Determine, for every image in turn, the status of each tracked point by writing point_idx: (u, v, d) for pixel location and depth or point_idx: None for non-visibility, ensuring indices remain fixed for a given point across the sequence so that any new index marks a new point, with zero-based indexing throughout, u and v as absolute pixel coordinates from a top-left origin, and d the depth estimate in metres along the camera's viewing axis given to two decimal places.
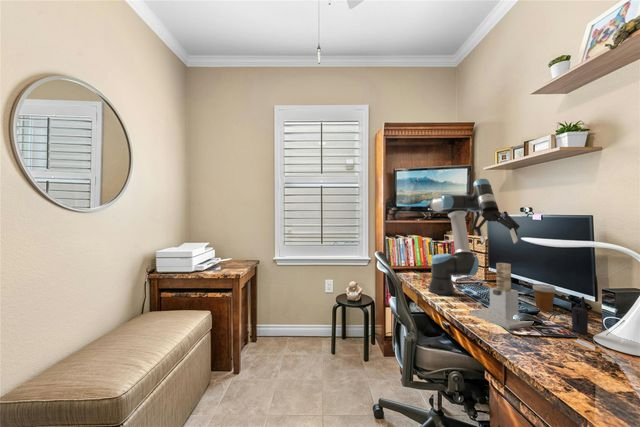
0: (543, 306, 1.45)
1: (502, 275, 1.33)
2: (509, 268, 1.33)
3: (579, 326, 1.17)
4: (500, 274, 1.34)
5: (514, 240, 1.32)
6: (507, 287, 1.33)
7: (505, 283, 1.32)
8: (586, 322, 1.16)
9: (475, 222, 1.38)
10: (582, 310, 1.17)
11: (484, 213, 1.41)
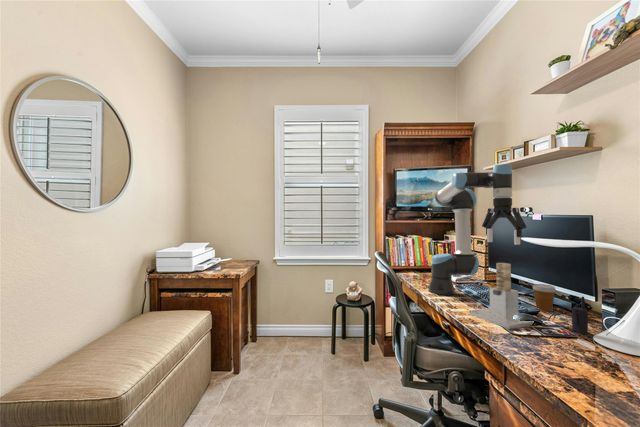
0: (543, 306, 1.45)
1: (502, 275, 1.33)
2: (509, 268, 1.33)
3: (579, 326, 1.17)
4: (500, 274, 1.34)
5: None
6: (507, 287, 1.33)
7: (505, 283, 1.32)
8: (586, 322, 1.16)
9: (484, 221, 1.43)
10: (582, 310, 1.17)
11: (494, 210, 1.38)
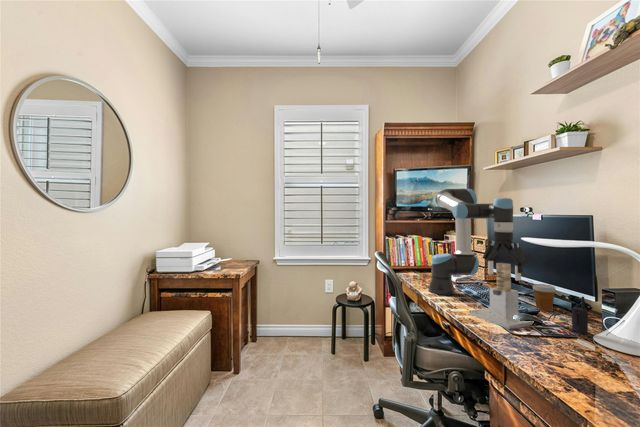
0: (543, 306, 1.45)
1: (502, 275, 1.33)
2: (509, 268, 1.33)
3: (579, 326, 1.17)
4: (500, 274, 1.34)
5: None
6: (507, 287, 1.33)
7: (505, 283, 1.32)
8: (586, 322, 1.16)
9: (485, 253, 1.42)
10: (582, 310, 1.17)
11: (495, 243, 1.37)
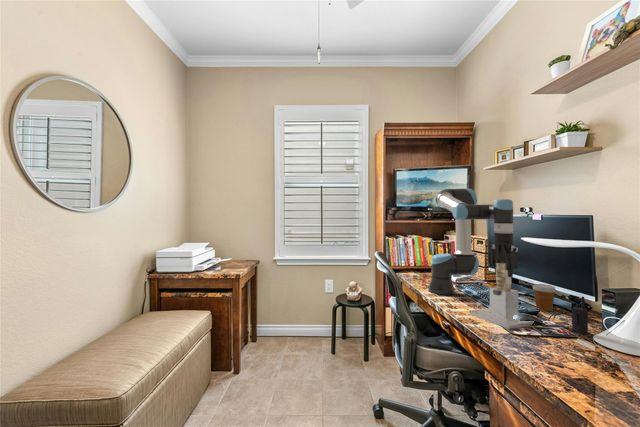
0: (543, 306, 1.45)
1: (502, 275, 1.33)
2: None
3: (579, 326, 1.17)
4: (500, 274, 1.34)
5: None
6: (507, 287, 1.33)
7: (505, 283, 1.32)
8: (586, 322, 1.16)
9: (491, 259, 1.39)
10: (582, 310, 1.17)
11: (495, 244, 1.37)
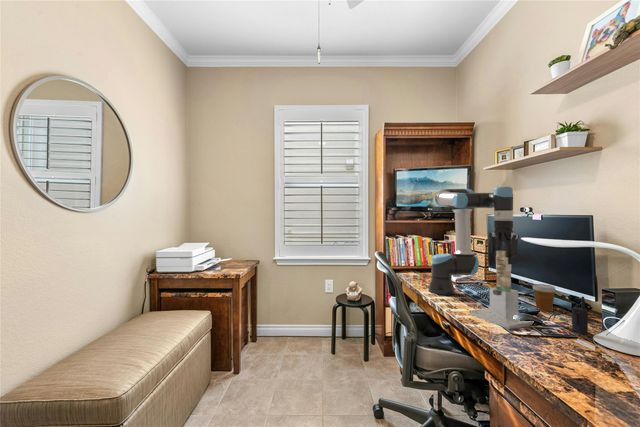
0: (543, 306, 1.45)
1: (502, 262, 1.33)
2: None
3: (579, 326, 1.17)
4: (500, 261, 1.34)
5: None
6: (507, 274, 1.33)
7: (505, 271, 1.32)
8: (586, 322, 1.16)
9: (491, 247, 1.39)
10: (582, 310, 1.17)
11: (495, 232, 1.37)
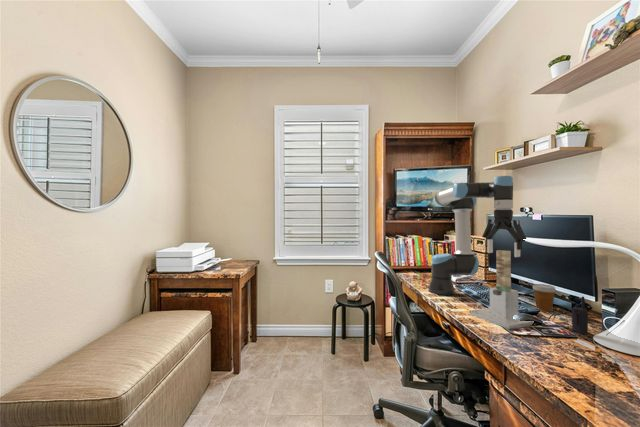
0: (543, 306, 1.45)
1: (502, 262, 1.33)
2: (509, 255, 1.33)
3: (579, 326, 1.17)
4: (500, 261, 1.34)
5: None
6: (507, 274, 1.33)
7: (505, 270, 1.32)
8: (586, 322, 1.16)
9: (485, 232, 1.43)
10: (582, 310, 1.17)
11: (495, 221, 1.38)
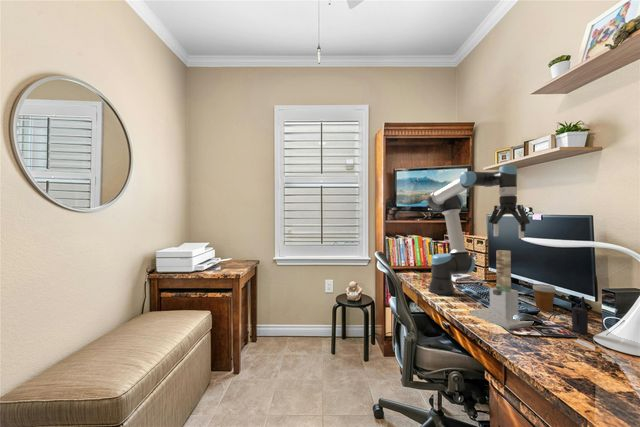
0: (543, 306, 1.45)
1: (502, 262, 1.33)
2: (509, 255, 1.33)
3: (579, 326, 1.17)
4: (500, 261, 1.34)
5: None
6: (507, 274, 1.33)
7: (505, 270, 1.32)
8: (586, 322, 1.16)
9: (491, 217, 1.56)
10: (582, 310, 1.17)
11: (500, 207, 1.51)
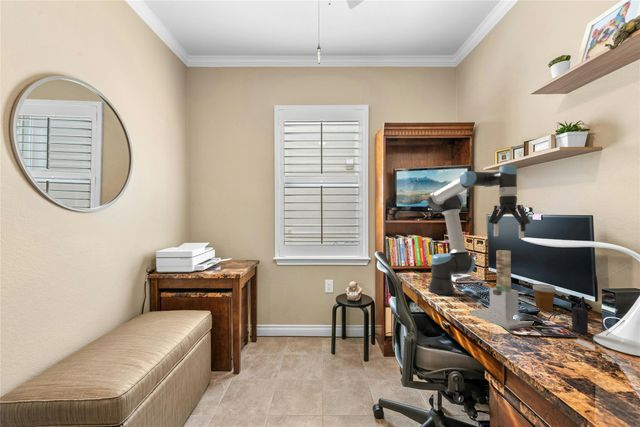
0: (543, 306, 1.45)
1: (502, 262, 1.33)
2: (509, 255, 1.33)
3: (579, 326, 1.17)
4: (500, 261, 1.34)
5: None
6: (507, 274, 1.33)
7: (505, 270, 1.32)
8: (586, 322, 1.16)
9: (491, 217, 1.56)
10: (582, 310, 1.17)
11: (500, 207, 1.51)
